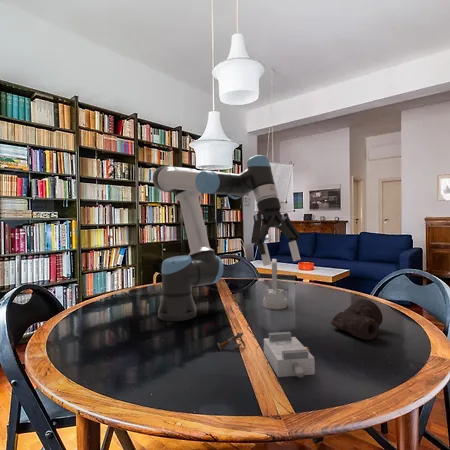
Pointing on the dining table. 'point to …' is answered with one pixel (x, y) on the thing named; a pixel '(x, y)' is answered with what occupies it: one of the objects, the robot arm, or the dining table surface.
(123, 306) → the dining table surface
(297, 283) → the dining table surface
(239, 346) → the wooden post with brackets
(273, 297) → the engine component
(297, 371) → the machine vise
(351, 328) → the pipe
